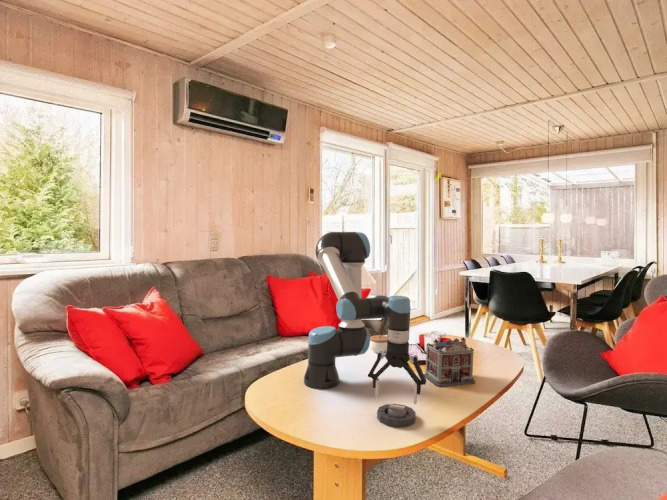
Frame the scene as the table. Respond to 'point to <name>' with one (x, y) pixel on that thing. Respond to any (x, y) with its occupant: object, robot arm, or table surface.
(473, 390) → the table surface
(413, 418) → the faceted gray torus
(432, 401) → the table surface
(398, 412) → the cap
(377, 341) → the lidded jar
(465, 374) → the model building
